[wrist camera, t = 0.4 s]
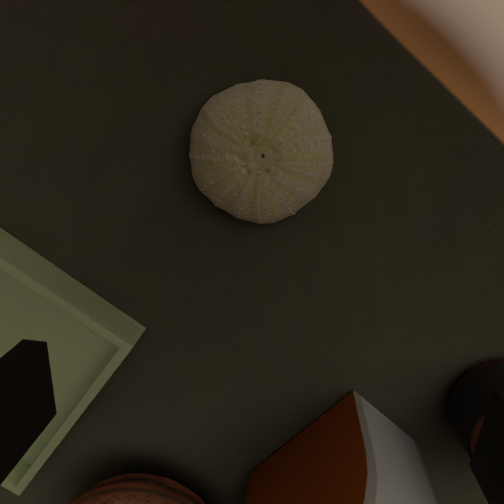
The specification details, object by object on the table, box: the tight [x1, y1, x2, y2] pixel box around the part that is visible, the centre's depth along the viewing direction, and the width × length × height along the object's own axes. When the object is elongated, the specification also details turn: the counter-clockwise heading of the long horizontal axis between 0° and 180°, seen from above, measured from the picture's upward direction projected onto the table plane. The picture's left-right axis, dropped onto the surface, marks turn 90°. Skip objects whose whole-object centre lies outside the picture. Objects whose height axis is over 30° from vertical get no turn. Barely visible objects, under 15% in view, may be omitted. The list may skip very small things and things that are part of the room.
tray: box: [0, 228, 146, 496], centre depth 34 cm, size 22×15×3 cm
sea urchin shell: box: [189, 79, 334, 224], centre depth 26 cm, size 9×8×8 cm
